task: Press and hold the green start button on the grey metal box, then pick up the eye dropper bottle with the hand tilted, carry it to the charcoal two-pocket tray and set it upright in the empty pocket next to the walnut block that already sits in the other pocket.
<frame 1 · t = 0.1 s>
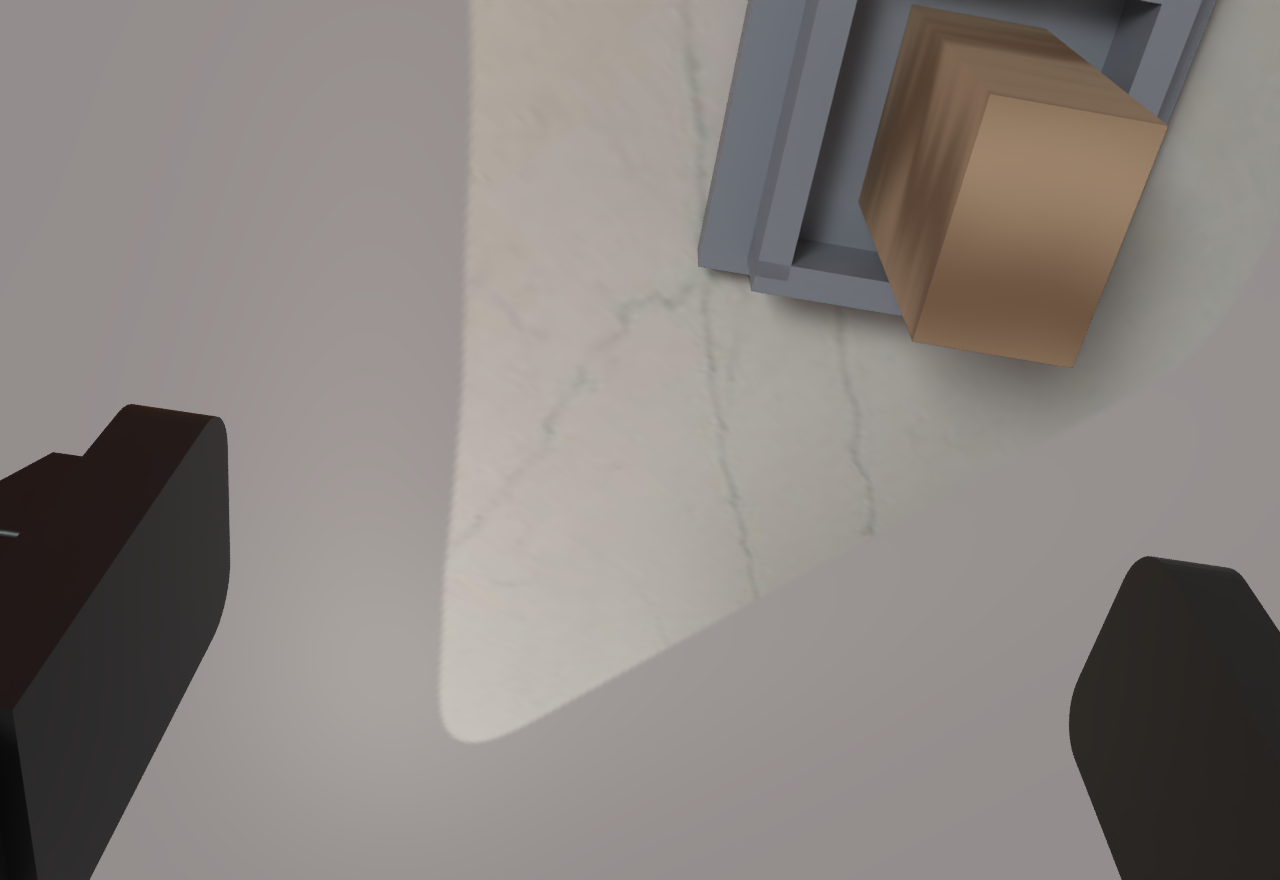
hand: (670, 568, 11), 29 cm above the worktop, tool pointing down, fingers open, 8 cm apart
walnut block: (948, 118, 36), point 1 cm above the worktop, touching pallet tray
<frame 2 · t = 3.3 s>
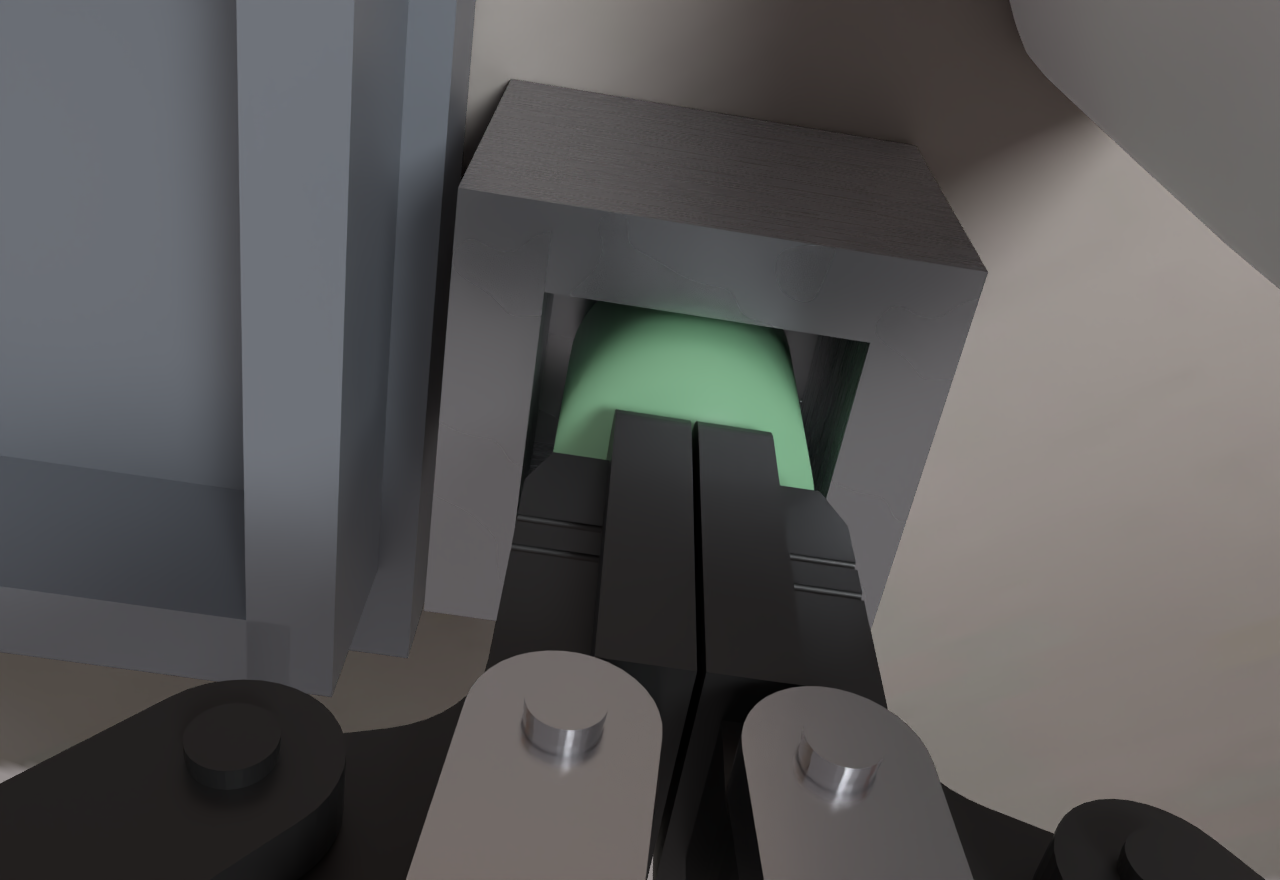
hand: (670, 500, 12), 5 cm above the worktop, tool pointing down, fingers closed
button box: (680, 299, 16), on the worktop
start button: (680, 431, 13), point 3 cm above the worktop, slide at 0.9 cm
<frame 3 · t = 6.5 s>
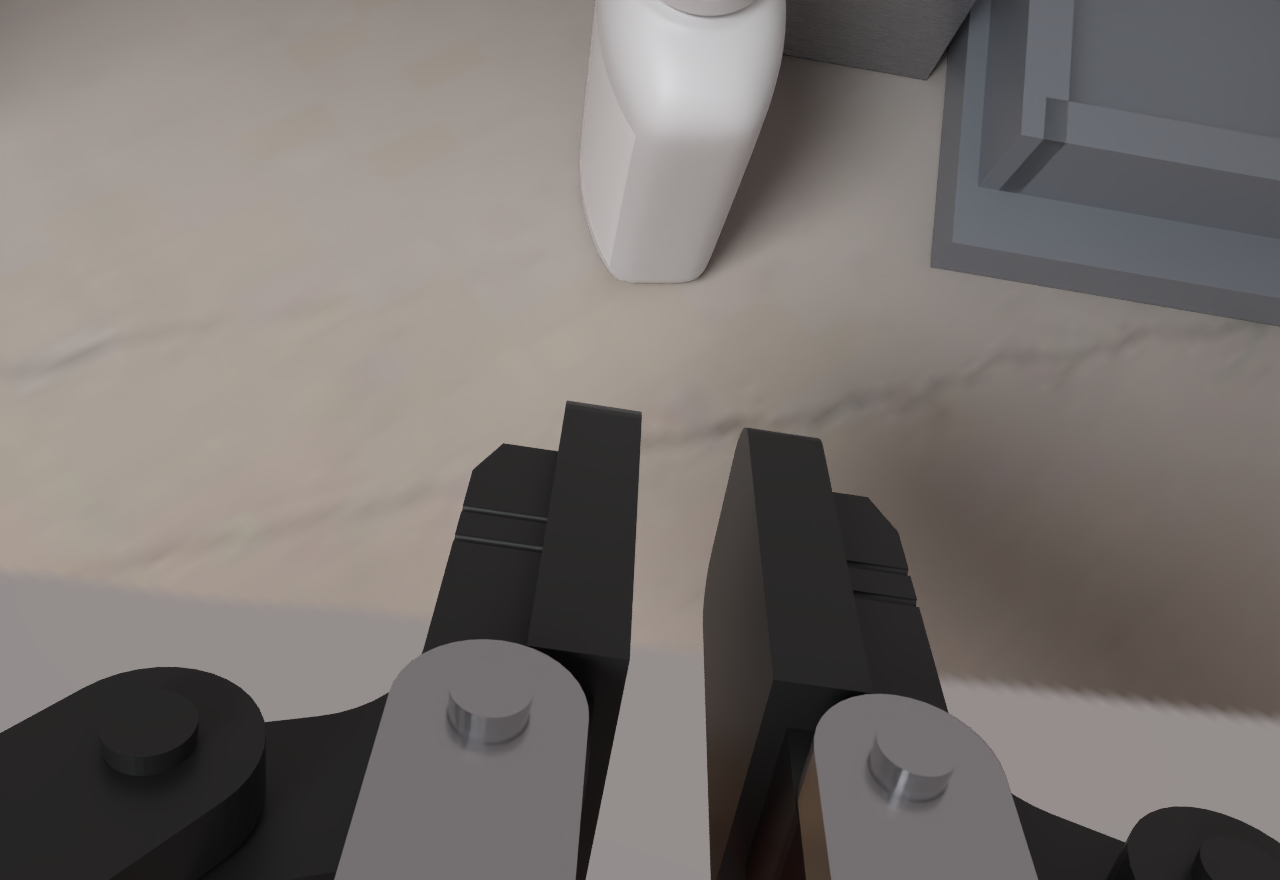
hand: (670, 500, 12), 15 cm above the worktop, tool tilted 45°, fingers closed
eye dropper bottle: (649, 184, 29), on the worktop
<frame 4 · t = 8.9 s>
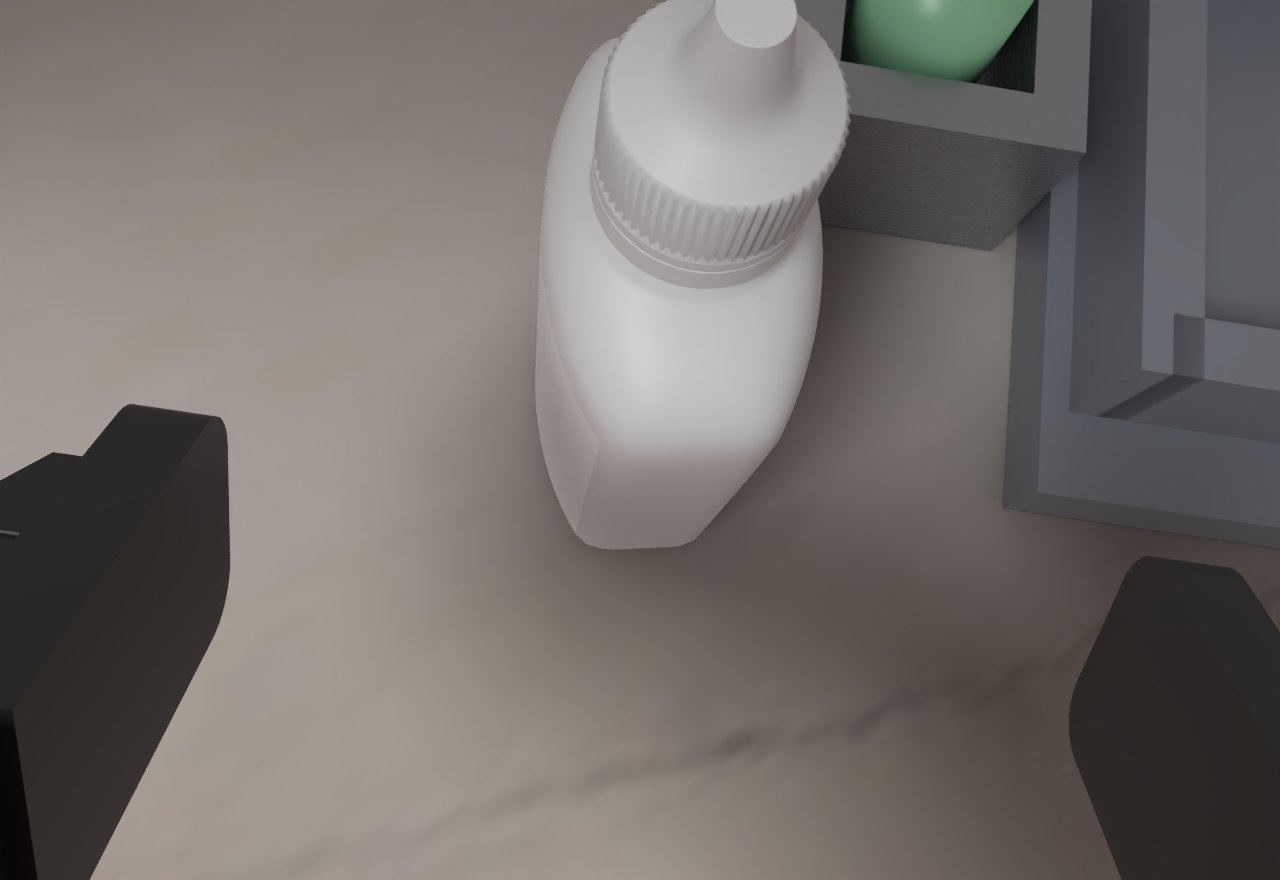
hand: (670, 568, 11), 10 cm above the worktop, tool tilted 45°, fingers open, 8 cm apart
eye dropper bottle: (629, 402, 22), on the worktop
button box: (874, 113, 23), on the worktop
start button: (931, 12, 20), point 3 cm above the worktop, slide at 1.0 cm
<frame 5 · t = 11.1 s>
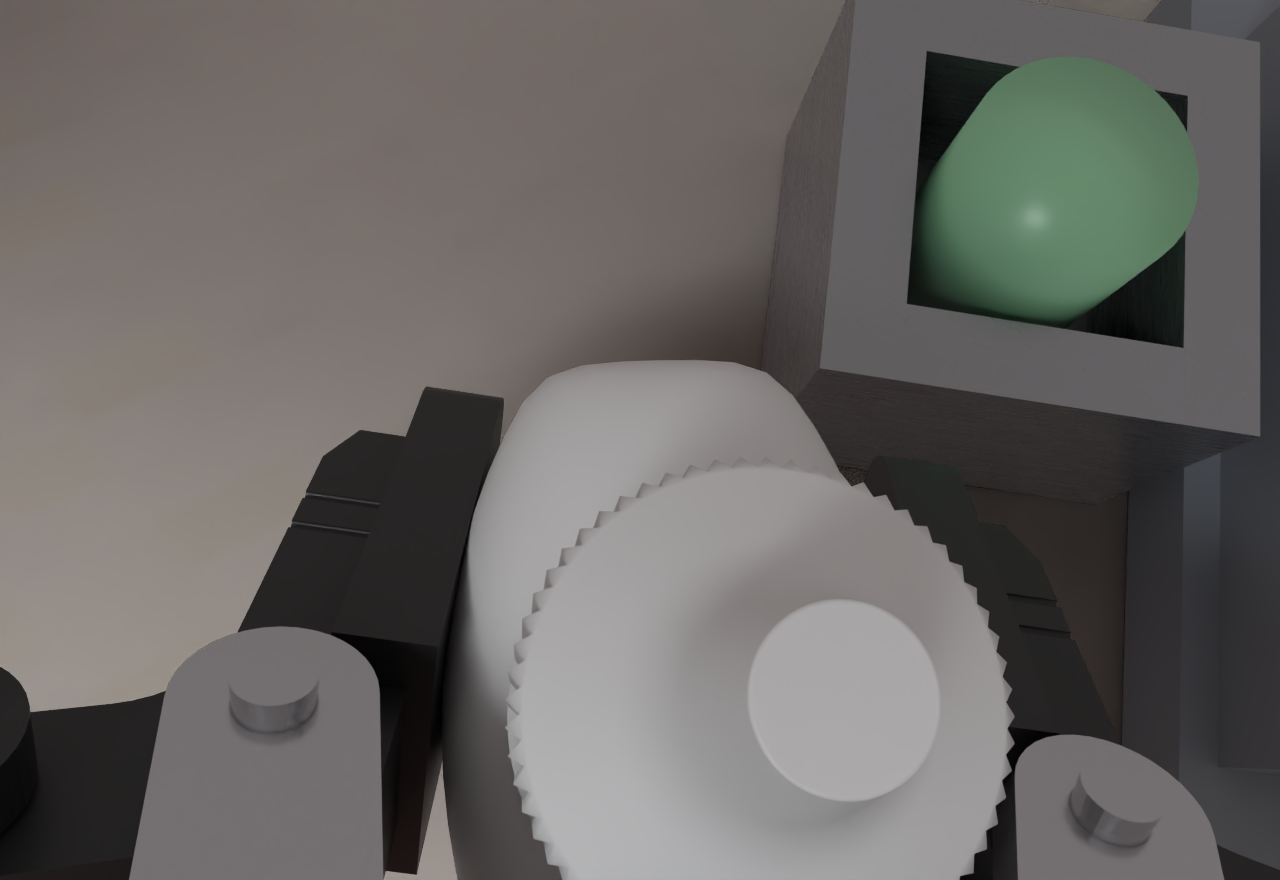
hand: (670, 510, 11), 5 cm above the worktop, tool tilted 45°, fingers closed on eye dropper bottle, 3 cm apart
eye dropper bottle: (606, 727, 16), on the worktop, touching gripper
button box: (936, 314, 18), on the worktop
start button: (1031, 217, 14), point 3 cm above the worktop, slide at 1.0 cm
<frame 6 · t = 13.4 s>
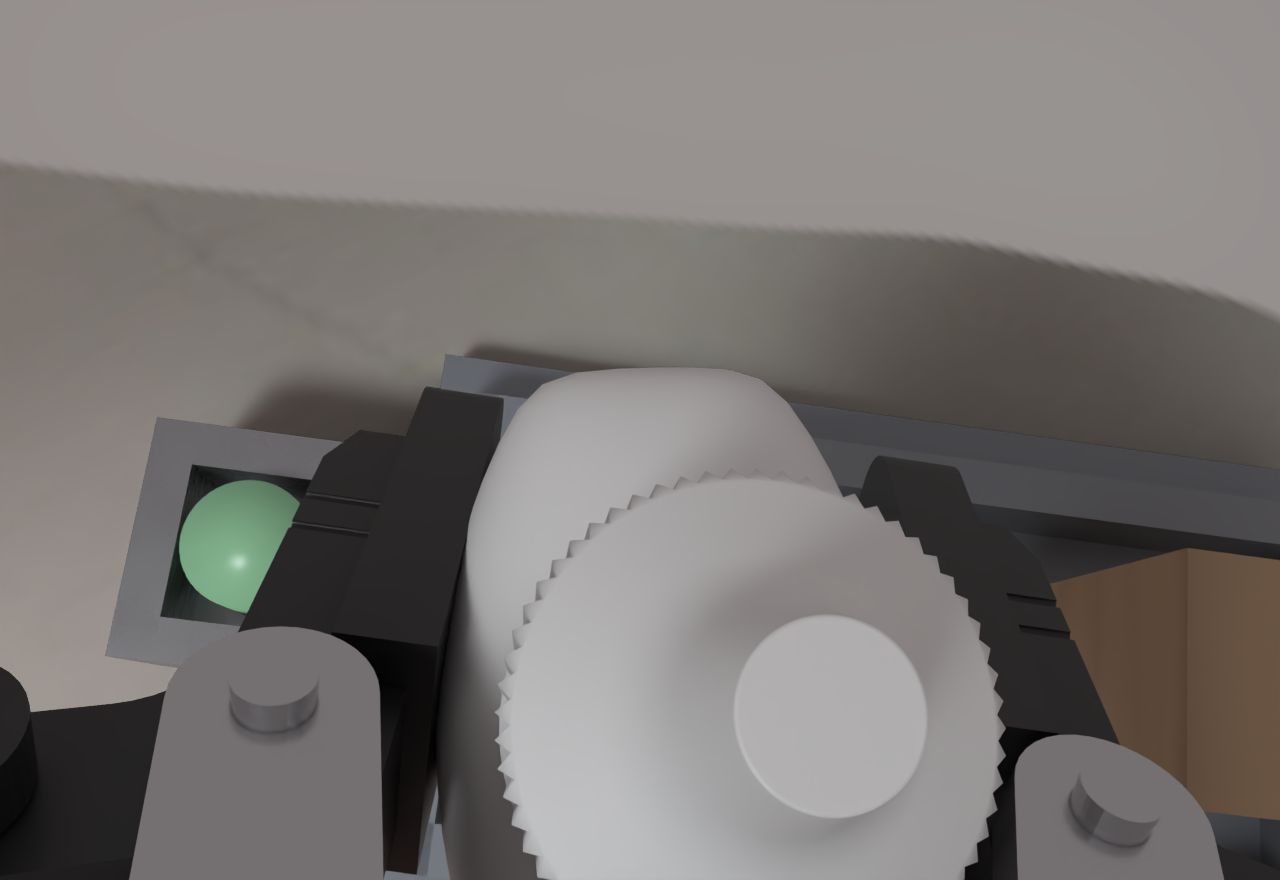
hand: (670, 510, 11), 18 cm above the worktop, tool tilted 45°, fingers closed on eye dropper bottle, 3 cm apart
eye dropper bottle: (604, 732, 16), point 13 cm above the worktop, touching gripper
button box: (289, 572, 29), on the worktop
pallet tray: (855, 684, 30), on the worktop
start button: (260, 553, 25), point 3 cm above the worktop, slide at 1.0 cm
walnut block: (1078, 707, 28), point 1 cm above the worktop, touching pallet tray
when the fingers open (8 cm above the worktop, at t = 15.9 s): eye dropper bottle drops 1 cm, resting on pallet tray.
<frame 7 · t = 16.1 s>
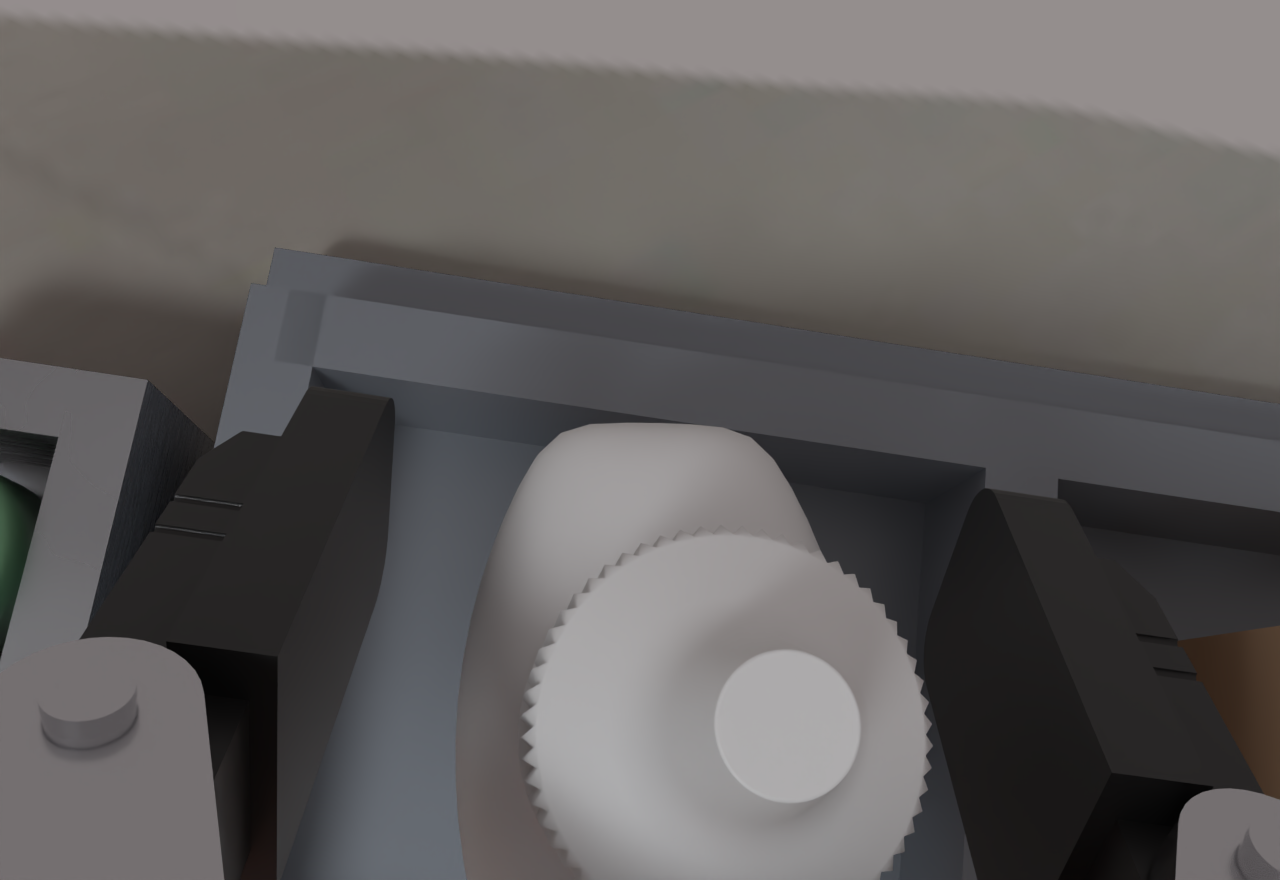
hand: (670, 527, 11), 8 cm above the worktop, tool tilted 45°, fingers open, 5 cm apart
eye dropper bottle: (594, 742, 17), point 1 cm above the worktop, touching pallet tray
button box: (24, 584, 18), on the worktop
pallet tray: (908, 771, 19), on the worktop
walnut block: (1268, 818, 18), point 1 cm above the worktop, touching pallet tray
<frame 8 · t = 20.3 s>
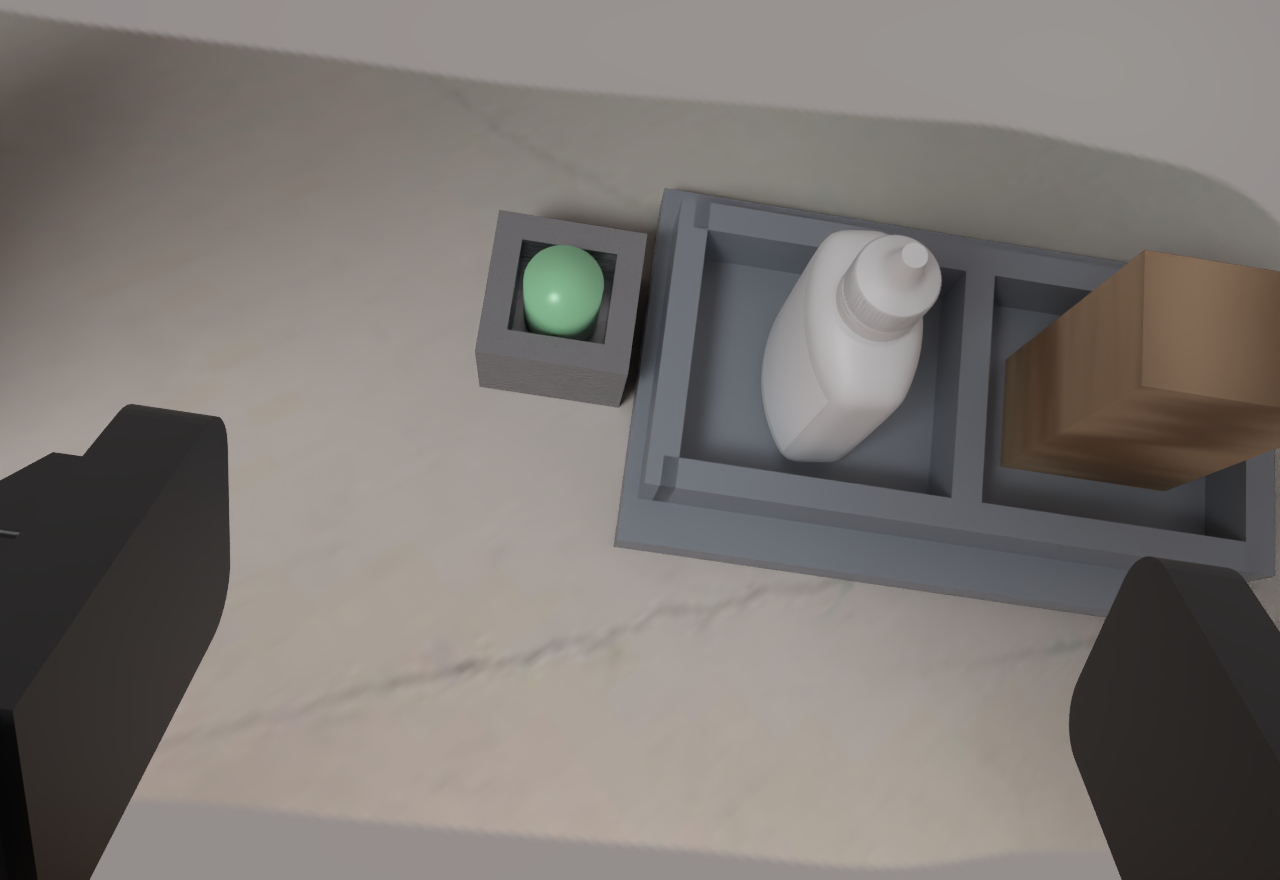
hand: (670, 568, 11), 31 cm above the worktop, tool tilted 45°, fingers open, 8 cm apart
eye dropper bottle: (806, 389, 42), point 1 cm above the worktop, touching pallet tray
button box: (559, 331, 43), on the worktop
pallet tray: (934, 415, 44), on the worktop
start button: (562, 297, 40), point 3 cm above the worktop, slide at 1.0 cm
walnut block: (1084, 424, 43), point 1 cm above the worktop, touching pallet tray
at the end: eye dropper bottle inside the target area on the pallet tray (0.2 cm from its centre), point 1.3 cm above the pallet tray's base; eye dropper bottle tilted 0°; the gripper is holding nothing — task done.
